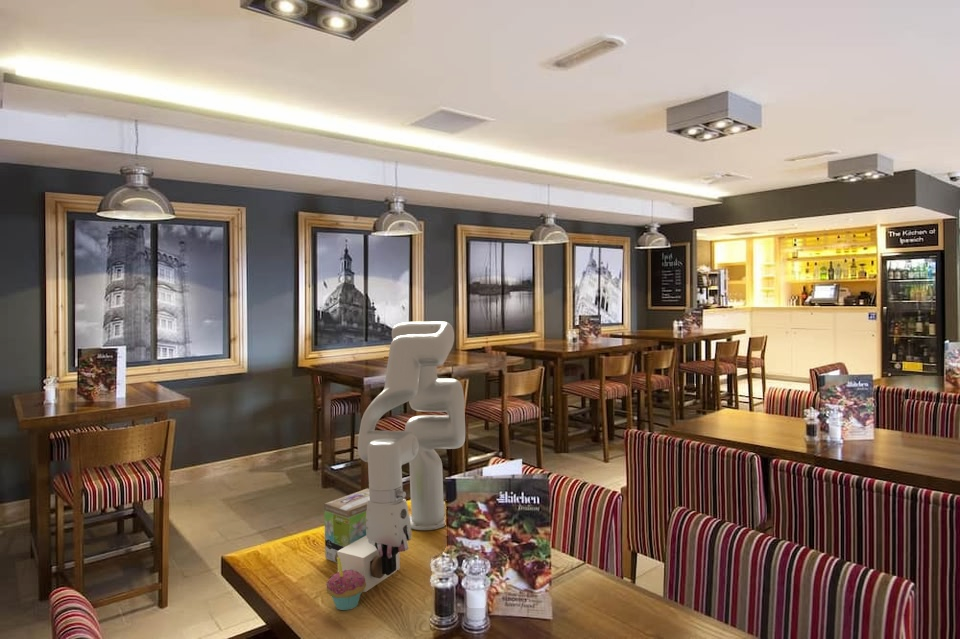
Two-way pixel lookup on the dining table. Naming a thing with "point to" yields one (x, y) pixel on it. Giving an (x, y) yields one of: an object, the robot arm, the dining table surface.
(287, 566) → the dining table surface
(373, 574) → the pin
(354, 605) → the cupcake
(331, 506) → the tea box
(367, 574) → the block
